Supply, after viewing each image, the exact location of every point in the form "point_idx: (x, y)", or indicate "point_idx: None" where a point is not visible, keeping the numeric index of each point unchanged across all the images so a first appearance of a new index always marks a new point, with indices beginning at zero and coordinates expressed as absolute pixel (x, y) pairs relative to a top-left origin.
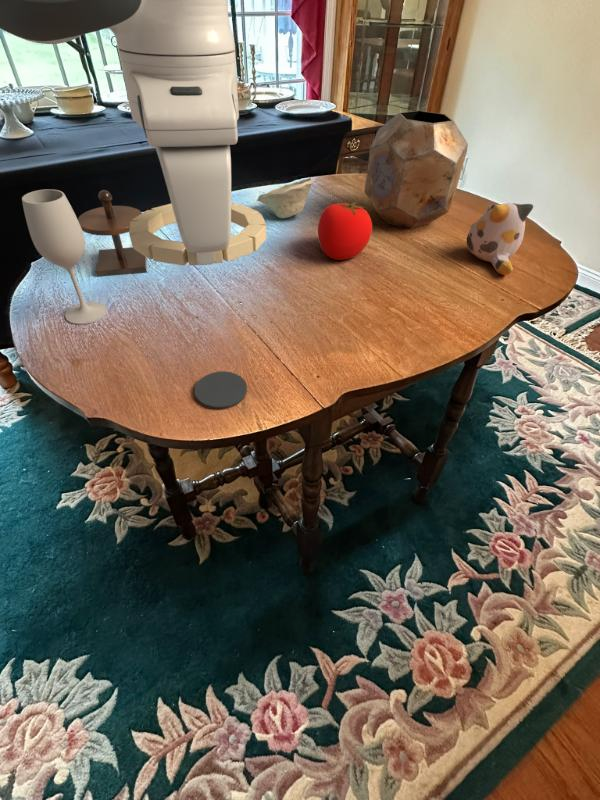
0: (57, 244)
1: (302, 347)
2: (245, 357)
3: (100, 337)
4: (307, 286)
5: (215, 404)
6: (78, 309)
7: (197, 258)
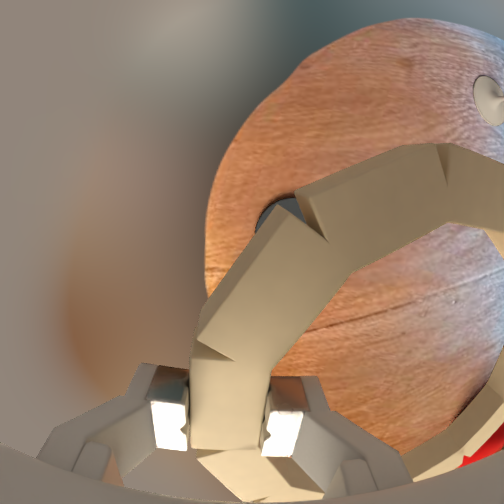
0: None
1: (338, 359)
2: (349, 284)
3: (447, 102)
4: (440, 385)
5: (262, 222)
6: (494, 92)
7: (135, 374)
